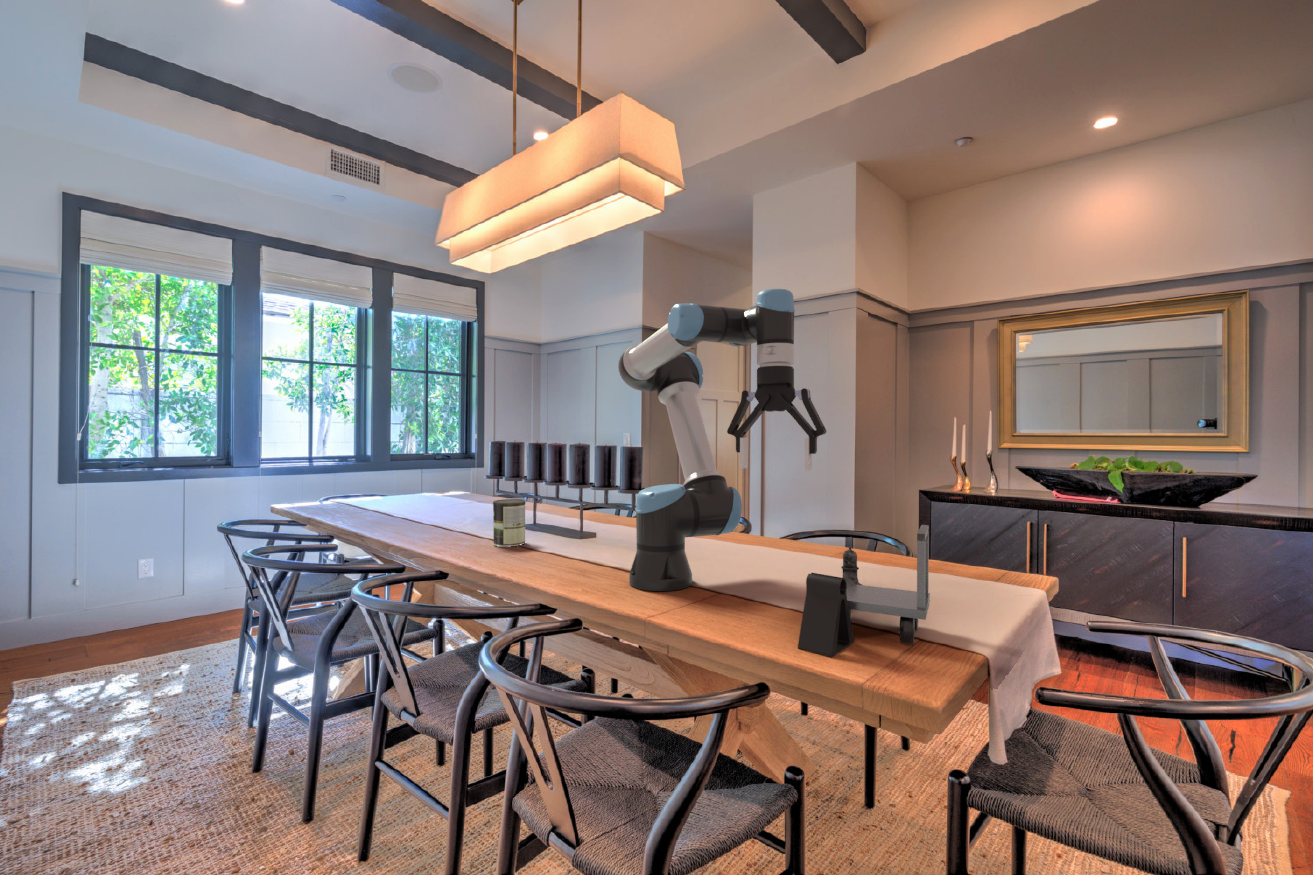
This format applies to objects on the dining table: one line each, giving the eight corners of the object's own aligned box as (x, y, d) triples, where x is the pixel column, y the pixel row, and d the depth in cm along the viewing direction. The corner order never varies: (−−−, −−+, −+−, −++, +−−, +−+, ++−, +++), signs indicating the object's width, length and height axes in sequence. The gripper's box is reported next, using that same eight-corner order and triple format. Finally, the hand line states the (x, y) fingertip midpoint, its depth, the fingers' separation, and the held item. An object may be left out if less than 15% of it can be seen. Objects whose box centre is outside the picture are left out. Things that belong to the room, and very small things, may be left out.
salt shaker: (829, 600, 126) (829, 544, 126) (851, 596, 128) (851, 542, 128) (848, 607, 121) (848, 549, 120) (870, 604, 123) (870, 547, 123)
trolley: (816, 633, 106) (816, 527, 105) (831, 613, 117) (831, 517, 117) (925, 650, 97) (925, 535, 97) (930, 627, 109) (930, 524, 108)
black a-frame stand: (831, 658, 94) (831, 584, 94) (797, 648, 98) (797, 577, 98) (854, 642, 101) (854, 573, 101) (821, 634, 105) (821, 568, 105)
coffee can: (487, 547, 185) (487, 502, 185) (500, 540, 195) (500, 498, 195) (518, 547, 183) (518, 503, 183) (530, 541, 194) (530, 499, 193)
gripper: (712, 367, 123) (712, 468, 123) (833, 361, 111) (833, 472, 111) (725, 370, 129) (725, 466, 130) (841, 364, 118) (841, 470, 118)
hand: (775, 469), depth 120 cm, fingers open, 13 cm apart
